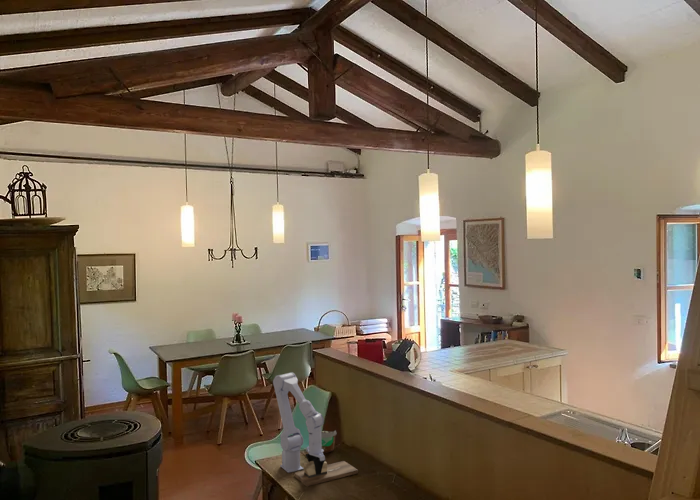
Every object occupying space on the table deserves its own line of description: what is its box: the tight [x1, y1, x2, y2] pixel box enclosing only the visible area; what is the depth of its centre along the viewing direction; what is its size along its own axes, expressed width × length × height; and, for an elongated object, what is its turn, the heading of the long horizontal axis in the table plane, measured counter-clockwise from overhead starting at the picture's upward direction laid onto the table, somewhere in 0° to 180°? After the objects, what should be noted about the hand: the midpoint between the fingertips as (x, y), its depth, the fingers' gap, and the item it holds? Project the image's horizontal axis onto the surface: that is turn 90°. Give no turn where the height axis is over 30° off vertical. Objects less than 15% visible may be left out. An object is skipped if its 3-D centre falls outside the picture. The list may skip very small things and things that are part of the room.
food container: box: [321, 429, 338, 454], centre depth 277 cm, size 12×6×10 cm, turn 80°
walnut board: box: [293, 460, 359, 487], centre depth 247 cm, size 13×26×2 cm, turn 121°
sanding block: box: [303, 460, 328, 478], centre depth 244 cm, size 5×9×5 cm, turn 120°
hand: (315, 471), depth 244 cm, fingers closed on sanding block, 5 cm apart
